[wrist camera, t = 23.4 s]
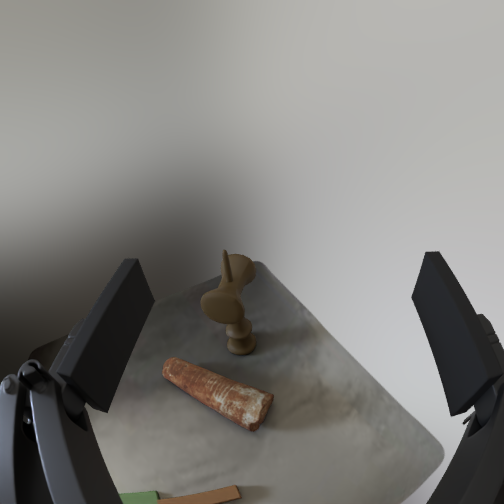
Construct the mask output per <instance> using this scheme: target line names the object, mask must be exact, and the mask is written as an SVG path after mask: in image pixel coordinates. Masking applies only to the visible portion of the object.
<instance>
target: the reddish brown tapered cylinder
mask: <svg viewBox="0 0 504 504" xmlns="http://www.w3.org/2000/svg"><path fill="white" fill-rule="evenodd" d="M162 374H163V376H164V377H165V378H166V379H168V380H169V381H171V382H172V383H174V384H175V385H177V386H178V387H179V388H181V389H182V390H184V391H185V392H187V393H188V394H190V395H191V396H192V397H194V398H196V399H197V400H199V401H200V402H202V403H203V404H205V405H207V406H209V407H210V408H212V409H214V410H215V411H217V412H218V413H220V414H221V415H223V416H224V417H226V418H228V419H230V420H232V421H233V422H235V423H237V424H238V425H240V426H242V427H244V428H246V429H248V430H250V431H253V432H254V431H256V430H257V429H258V428H259V425H260V424H261V423H262V422H263V420H264V418H265V416H266V413H267V411H268V409H269V407H270V405H271V404H272V402H273V398H274V395H273V394H270V393H267V392H265V391H262V390H259V389H257V388H254V387H251V386H248V385H245V384H243V383H239V382H236V381H233V380H231V379H228V378H226V377H224V376H221V375H219V374H216V373H214V372H211V371H209V370H206V369H204V368H201V367H198V366H196V365H193V364H191V363H189V362H187V361H184V360H181V359H179V358H176V357H172V358H169V359H168V360H167V361H166V362H165V363H164V365H163V371H162Z"/></svg>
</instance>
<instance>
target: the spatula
mask: <svg viewBox="0 0 504 504" xmlns="http://www.w3.org/2000/svg"><path fill="white" fill-rule="evenodd" d="M119 496H120V498H121V500H122V502H123V504H219V503H224V502H228V501H232V500H236V499H240V498H242V497H241V495H240V492H239V490H238V487H237V486H236V485H233V486H229V487H225V488H221V489H217V490H212V491H208V492H203V493H198V494H193V495H187V496H181V497H175V498H168V499H159V496H158V492H157V491H148V492H138V493H124V494H119Z"/></svg>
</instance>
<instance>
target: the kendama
mask: <svg viewBox="0 0 504 504" xmlns="http://www.w3.org/2000/svg"><path fill="white" fill-rule="evenodd" d="M221 273H222V280H221V283H220V285H219V286H218V288H217V289H215V290H212V291H209V292H207V293H205V294H204V295H203V297H202V299H201V307H202V309H203V311H204V313H205V314H206V315H207V316H208V317H209V318H210V319H212V320H214V321H216V322H219V323H223V324H228V325H227V326H226V334H227V336H229V339H228V342H227V347H228V350H229V351H230V352H232V353H233V354H237V355H246V354H249V353H250V352H252V351H253V350H254V348H255V346H256V338H255V336H254V335H253V334H252V333H251V331H252V324H251V322H250V321H249V320H248V319H246V318H245V317H244V313H245V309H244V306H243V303H242V300H241V293H242V290H243V288H244V286H245V285H247V284H249V283H250V282H252V281H253V279H254V278H255V276H256V268H255V264H254V263H253V262H252V260H251V259H250V258H248V257H246V256H244V255H239V254H231V255H228V254H227V251H226V250H223V260H222V262H221Z"/></svg>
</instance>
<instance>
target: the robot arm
mask: <svg viewBox="0 0 504 504" xmlns="http://www.w3.org/2000/svg"><path fill="white" fill-rule="evenodd" d="M412 300H413V302H414V305H415V307H416V310H417V312H418V315H419V317H420V320H421V322H422V325H423V328H424V330H425V333H426V336H427V338H428V341H429V344H430V347H431V350H432V353H433V356H434V358H435V362H436V365H437V368H438V371H439V374H440V378H441V381H442V384H443V388H444V392H445V395H446V399H447V403H448V407H449V411H450V415H451V416H455V415H458V414H461V413H465V412H467V410H468V409H470V408H471V407H472V406H473V405H474V408H475V411H474V412H473V413H472V414H471V415H470V416H469V417H467V418H466V419H465V420H464V422H463V424H466V423H467V422H468V421H469V420H470V421H469V423H468V425H467V428H466V430H465V433H464V435H463V437H462V440H461V442H460V444H459V446H458V448H457V450H456V453H455V455H454V457H453V459H452V460H451V462H450V464H449V466H448V468H447V470H446V472H445V474H444V475H443V477H442V479H441V481H440V482H439V484H438V486H437V488H436V489H435V491H434V492H433V494H432V496H431V498H430V499H429V501H428V502H427V503H426V504H504V349H503V347H502V345H501V343H499V339H498V337H497V335H496V334H495V331H494V329H493V327H492V325H491V323H490V321H489V320H488V319H487V318H486V317H485V316H484V315H483V314H478V315H477V314H476V312H475V310H474V308H473V307H472V305H471V303H470V301H469V299H468V298H467V296H466V294H465V292H464V291H463V289H462V287H461V286H460V284H459V282H458V280H457V279H456V277H455V275H454V274H453V272H452V271H451V269H450V268H449V266H448V264H447V263H446V261H445V260H444V258H443V257H442V255H441V254H440V252H438V251H437V252H425V256H424V259H423V263H422V266H421V269H420V273H419V276H418V279H417V282H416V285H415V288H414V291H413V294H412ZM154 302H155V300H154V298H153V295H152V293H151V291H150V288H149V286H148V283H147V281H146V278H145V276H144V274H143V271H142V268H141V265H140V263H139V260H138V259H124V261H123V262H122V263H121V265H120V266H119V268H118V269H117V271H116V272H115V274H114V275H113V277H112V278H111V280H110V281H109V283H108V284H107V286H106V287H105V289H104V290H103V292H102V293H101V295H100V297H99V298H98V300H97V301H96V303H95V304H94V306H93V308H92V309H91V311H90V312H89V314H88V316H87V317H86V319H81V320H80V321H79V322H78V323H77V324H76V325H75V326H74V327H73V329H72V331H71V332H70V334H69V337H68V338H67V339H66V341H65V343H64V345H63V346H62V348H61V350H60V351H59V353H58V355H57V357H56V359H55V360H54V362H53V364H52V366H51V368H50V370H49V371H47V370H46V369H45V368H44V367H43V366H42V365H41V364H40V363H39V362H38V361H37V360H33V359H32V360H29V361H27V362H26V363H24V364H23V365H22V367H21V368H20V370H19V372H18V377H17V376H16V375H14V374H10V375H8V376H7V377H5V378H4V380H3V381H2V383H1V386H0V504H123V502H122V500H121V498H120V496H119V494H118V492H117V489H116V487H115V485H114V483H113V481H112V478H111V476H110V474H109V472H108V469H107V467H106V464H105V462H104V459H103V457H102V454H101V451H100V449H99V446H98V443H97V440H96V437H95V435H94V432H93V428H92V425H91V422H90V419H89V416H88V412H87V410H86V408H85V407H84V406H85V403H86V402H87V403H88V404H89V405H90V406H91V407H92V408H93V409H96V410H99V411H102V412H106V413H108V410H109V408H110V405H111V402H112V400H113V397H114V395H115V392H116V390H117V387H118V385H119V382H120V380H121V377H122V375H123V372H124V370H125V367H126V365H127V362H128V360H129V358H130V355H131V353H132V351H133V348H134V346H135V344H136V341H137V339H138V337H139V335H140V332H141V330H142V328H143V326H144V324H145V321H146V319H147V317H148V315H149V313H150V310H151V308H152V306H153V304H154ZM23 415H24V416H25V417H27V418H28V423H25V422H24V421H23Z"/></svg>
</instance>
